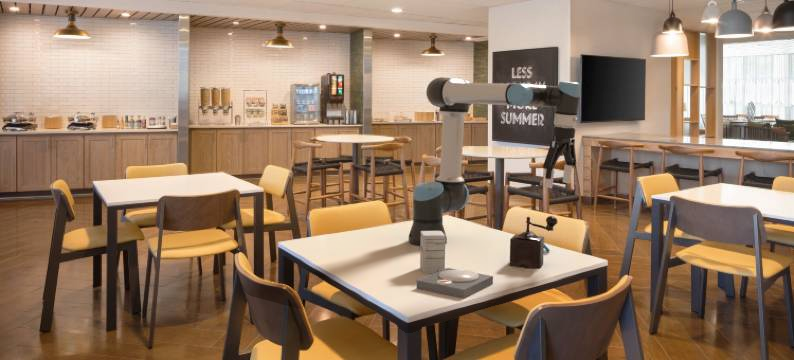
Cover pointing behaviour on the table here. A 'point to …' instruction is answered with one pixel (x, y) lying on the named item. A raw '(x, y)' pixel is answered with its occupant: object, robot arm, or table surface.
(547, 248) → the blue toy animal
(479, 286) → the scale
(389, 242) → the table surface
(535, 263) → the manual coffee grinder
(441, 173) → the robot arm
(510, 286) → the table surface
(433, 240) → the supplement box
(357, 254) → the table surface
